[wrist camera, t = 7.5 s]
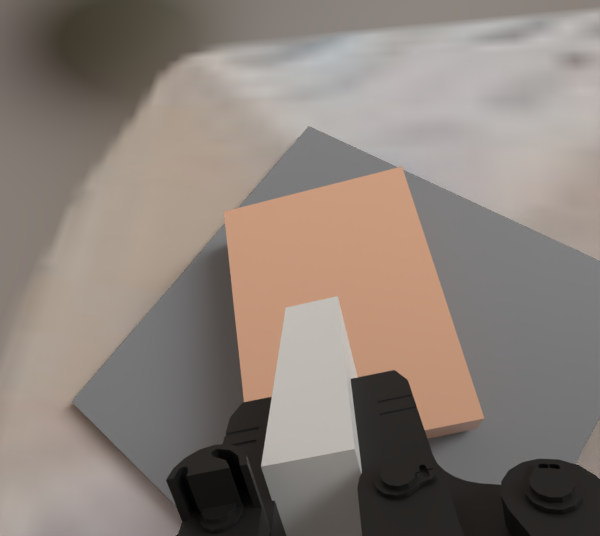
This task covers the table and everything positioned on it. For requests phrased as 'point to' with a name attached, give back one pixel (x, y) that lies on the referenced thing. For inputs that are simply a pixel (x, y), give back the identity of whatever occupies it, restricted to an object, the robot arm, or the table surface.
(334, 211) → the block
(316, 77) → the table surface
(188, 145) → the table surface
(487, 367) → the mat
